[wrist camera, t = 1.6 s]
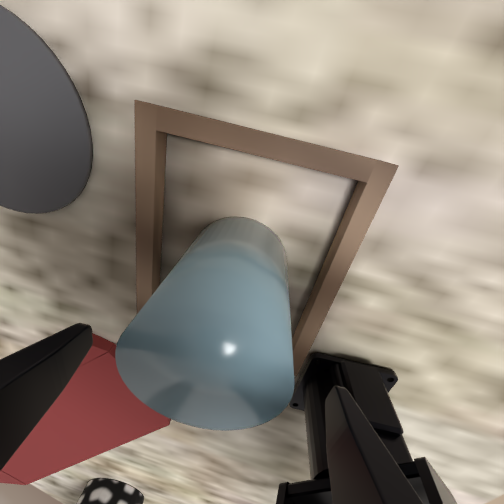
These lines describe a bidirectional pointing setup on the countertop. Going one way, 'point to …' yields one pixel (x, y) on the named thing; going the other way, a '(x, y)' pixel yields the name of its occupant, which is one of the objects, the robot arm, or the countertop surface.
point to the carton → (83, 420)
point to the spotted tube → (109, 493)
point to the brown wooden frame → (266, 145)
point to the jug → (216, 332)
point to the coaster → (38, 124)
